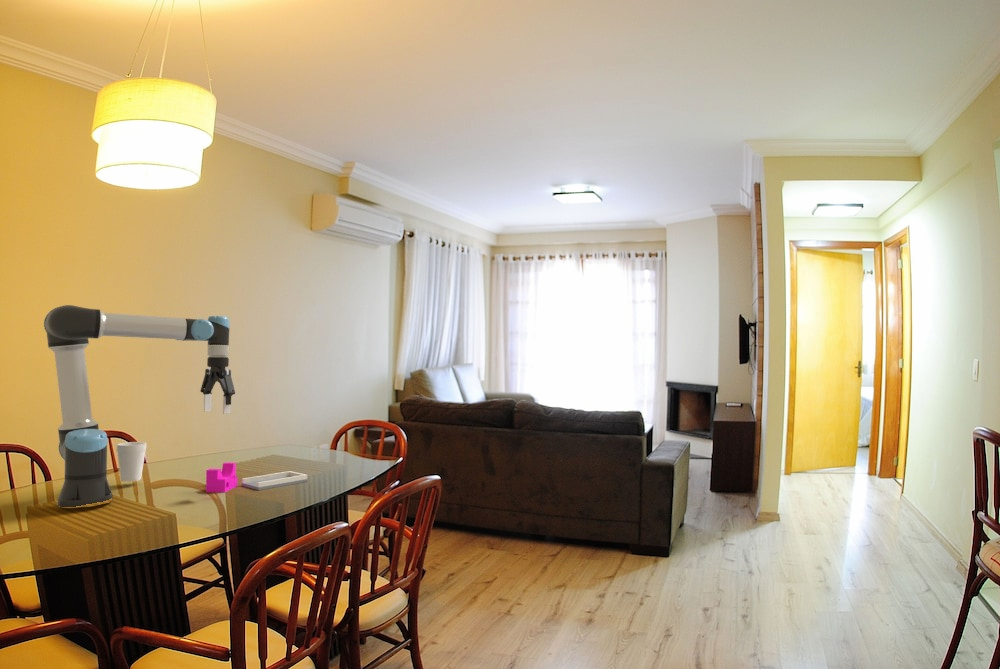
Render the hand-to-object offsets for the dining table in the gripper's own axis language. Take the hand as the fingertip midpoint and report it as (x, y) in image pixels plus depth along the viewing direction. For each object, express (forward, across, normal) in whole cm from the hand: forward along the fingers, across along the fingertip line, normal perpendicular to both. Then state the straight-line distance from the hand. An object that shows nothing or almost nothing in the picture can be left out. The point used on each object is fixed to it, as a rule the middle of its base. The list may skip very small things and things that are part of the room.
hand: (217, 412), depth 256 cm
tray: (+23, -34, -3) cm, 41 cm away
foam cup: (+24, +13, +25) cm, 37 cm away
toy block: (+24, -26, +12) cm, 37 cm away
